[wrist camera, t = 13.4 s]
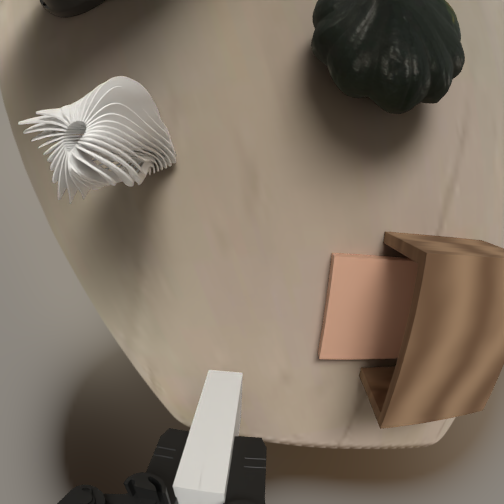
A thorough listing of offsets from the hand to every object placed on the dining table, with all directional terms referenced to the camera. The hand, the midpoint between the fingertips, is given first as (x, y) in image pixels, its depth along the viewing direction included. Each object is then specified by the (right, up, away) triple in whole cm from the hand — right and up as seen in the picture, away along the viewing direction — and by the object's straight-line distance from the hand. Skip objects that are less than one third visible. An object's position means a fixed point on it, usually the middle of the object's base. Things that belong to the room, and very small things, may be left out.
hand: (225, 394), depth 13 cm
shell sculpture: (-9, +17, +18) cm, 26 cm away
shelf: (+22, 0, +20) cm, 30 cm away
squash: (+14, +27, +14) cm, 34 cm away
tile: (+18, 0, +20) cm, 27 cm away
